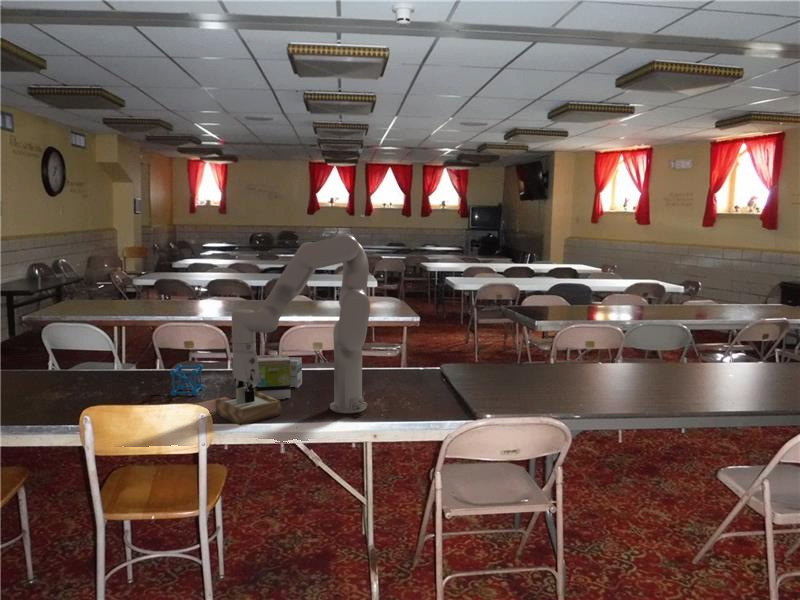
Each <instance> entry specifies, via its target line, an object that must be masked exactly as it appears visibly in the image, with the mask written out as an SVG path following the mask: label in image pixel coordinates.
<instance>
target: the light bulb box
mask: <svg viewBox="0 0 800 600" xmlns="http://www.w3.org/2000/svg"><path fill="white" fill-rule="evenodd" d="M288 357H289V356H288ZM289 359H290V362H291V364H290V365H291V367H290V368H291V369H290V382H291V387H295V388H294V389H299V387H300V386H301V385H303V367H302V364H303V362H302V357H289Z"/></svg>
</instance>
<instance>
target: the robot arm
mask: <svg viewBox="0 0 800 600" xmlns="http://www.w3.org/2000/svg"><path fill="white" fill-rule="evenodd" d="M338 264H342V266H343V268H342V282H341V287H340V294H339V299H338V304H339V307H340V309H339V310H340V311H339V318H338V320H337V322H336V323H335V325H334V327H333V333H332V334H333V335H332V336H333V357H334V358H333V361H334V365H333V367H334V368H333V369H334V370H333V371H334V372H333V374H334V375H333V377H334V379H333V384H334V385H333V387H334V389H333V391H334V392H333V393H334V395H333V397H334V399H333V400H334V401H333V402H331V403H330V404H329V410H331V411H332V412H334V413H338V414H356V413H361V412H363V411H365V410H366V409H367V406H368V405H369V404H368V402H365V399H364V396H363V345H364V344H365V341H366V339H367V333H368V332H367V331H368V325H369V319H370V311H371V301H370V299H369V296H368V295H367V290H368V283H369V282H368V280H369V272H370V271H369V267H370V266H369V260H368V256H367V254H366V250H365V249H364V248H363V246H362V245H361V244H360V242H358V240H357V239H356V238H355V237H354V236H353V235H350V234H349V233H338V234H337V235H335V236H334V237H331V238H327V239H324V240H323V239H322V240H319V241H315V242H313V241H307V242H304V243H302V244H301V245H300V246H299V247H298V249H297V250H296V252H295V253H294V255H293V256H292V257H291V259H290V261H289V262H288V264H287V266H286V267H285V269H284V270H283V272H282V273H281V275H280V276H279V278H278V279H277V281H276V282H275V285H274V286H273V288H272V290H271V291H270V292H269V294H268V296H267V297H266V298H265V300H264V302H262V304H261V306H260V308H259V309H258V311H254V310H253V309H247V308H245V309H244V308H243V309H236V310H233V311H232V313H231V342H232V343H231V345H232V366H231V367H232V377H233V379H234V383H235V388H241V387H246V391H245V403H250V402H254V401H255V399H254V390H255V387H256V385H257V384H258V380H259V366H258V358H257V356H258V354H257V346H256V345H257V343H256V341H257V339H256V334H257V333H262V334H269V333H273V332H274V331H276V330H277V329H278V326H279V324H280V318H281V317H282V315H283V313H284V312H285V311H286V309H287V308H288V306H289V305H290V304H291V302H292V301H293V300H294V299H295V298H296V297H297V296H299V295H300V294H301V292H302V291H303V290H304V288H305V287H306V285H307V284H308V282H309V280H310V279H311V277H312V276H313V275H314V273H315V271H316V270H317V269H323V268H327V267H330V266H335V265H338ZM250 379H251V381H249V380H250ZM248 383H251V384H250V385H248Z"/></svg>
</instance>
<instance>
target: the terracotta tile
mask: <svg viewBox="0 0 800 600" xmlns="http://www.w3.org/2000/svg"><path fill="white" fill-rule="evenodd" d="M215 399H216V398H215ZM215 399H210V400H205V401H202V402H201V401H200V402H196V403H194V404H199V405H201V406H204V407H206V408H207V409H209V410H210V412H211V414H216V401H215ZM218 399H220V400H223V401H229V400H232V399H231V398H229V397H226V396H224V397H220V398H218Z"/></svg>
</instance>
